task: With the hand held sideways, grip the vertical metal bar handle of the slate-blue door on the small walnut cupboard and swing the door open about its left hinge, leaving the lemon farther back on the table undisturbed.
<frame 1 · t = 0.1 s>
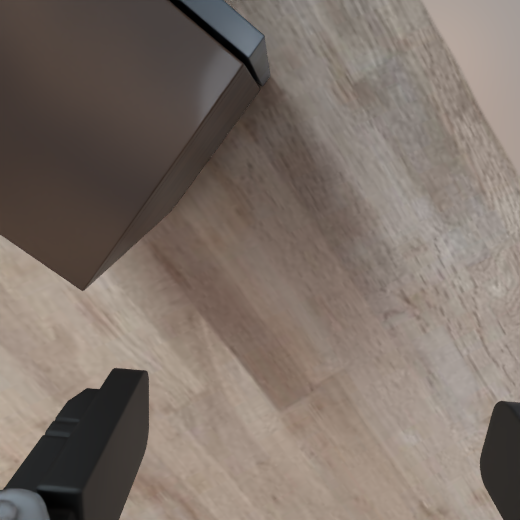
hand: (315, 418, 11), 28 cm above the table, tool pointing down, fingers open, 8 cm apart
cupboard: (129, 86, 35), on the table
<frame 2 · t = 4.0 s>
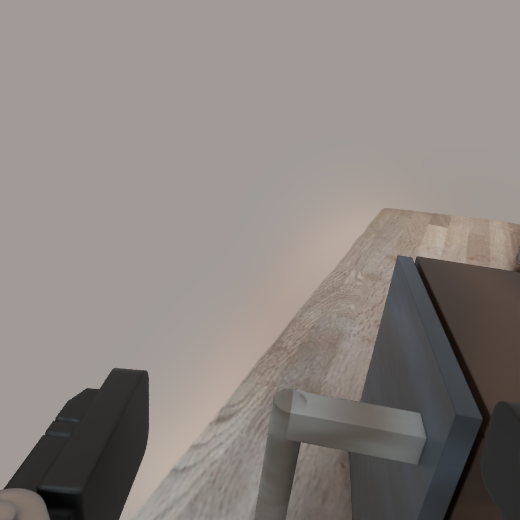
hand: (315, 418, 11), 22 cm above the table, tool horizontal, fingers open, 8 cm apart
door: (334, 427, 28), point 9 cm above the table, hinge at 0.0°
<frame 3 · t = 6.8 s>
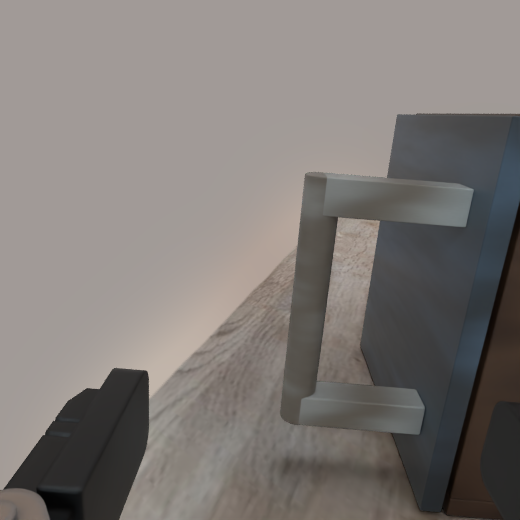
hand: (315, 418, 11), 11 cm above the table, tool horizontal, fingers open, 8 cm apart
cupboard: (495, 417, 29), on the table
door: (355, 271, 26), point 9 cm above the table, hinge at 0.0°
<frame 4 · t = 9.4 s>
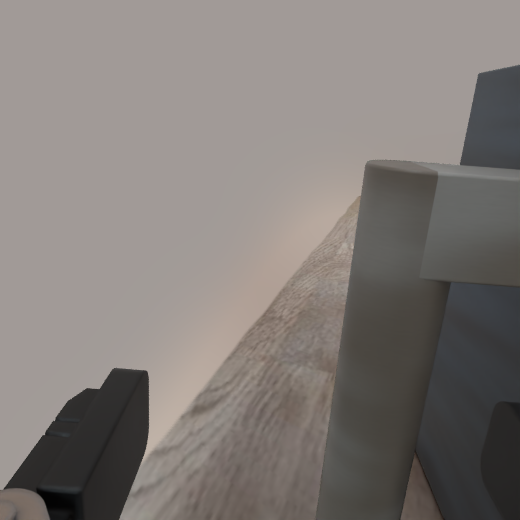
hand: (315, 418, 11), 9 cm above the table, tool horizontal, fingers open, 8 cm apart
door: (431, 350, 14), point 9 cm above the table, hinge at 0.0°, touching gripper
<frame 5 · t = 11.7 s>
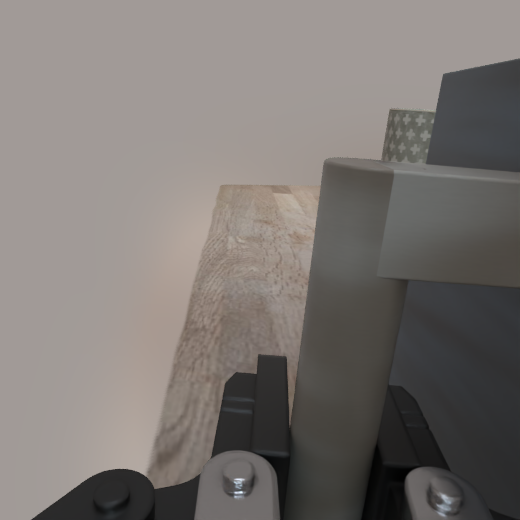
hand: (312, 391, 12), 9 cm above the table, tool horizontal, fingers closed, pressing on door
planter: (428, 226, 78), on the table
door: (396, 347, 14), point 9 cm above the table, hinge at 17.6°, touching gripper
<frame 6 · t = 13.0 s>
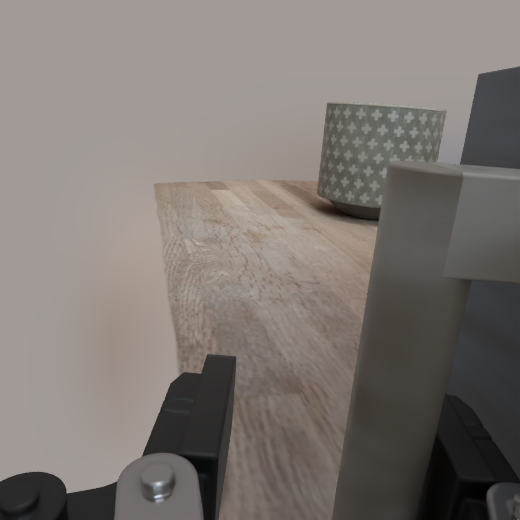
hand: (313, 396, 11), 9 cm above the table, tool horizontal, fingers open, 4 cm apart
planter: (368, 215, 80), on the table
door: (437, 348, 14), point 9 cm above the table, hinge at 30.9°
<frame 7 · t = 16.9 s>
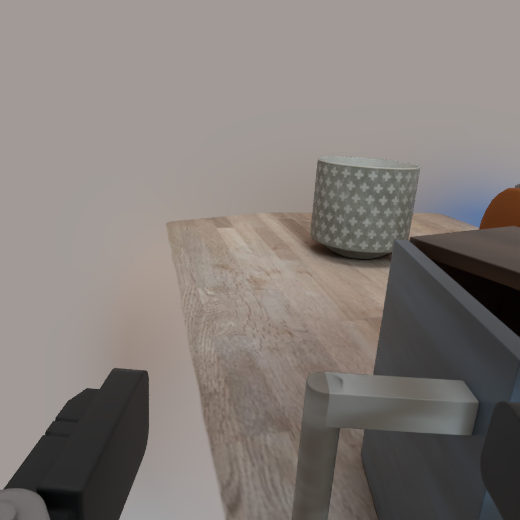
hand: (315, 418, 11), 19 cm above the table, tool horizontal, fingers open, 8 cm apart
cupboard: (512, 498, 33), on the table
planter: (355, 254, 92), on the table
door: (357, 423, 26), point 9 cm above the table, hinge at 30.9°
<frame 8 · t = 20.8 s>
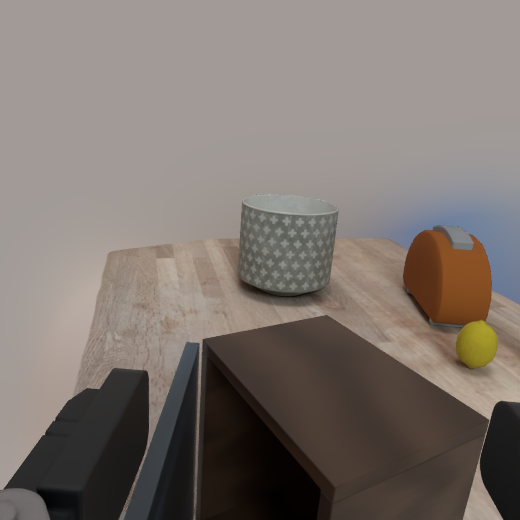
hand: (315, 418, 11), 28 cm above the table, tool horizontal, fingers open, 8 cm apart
lemon: (470, 369, 69), on the table
orange toaster: (436, 309, 91), on the table
planter: (282, 289, 95), on the table
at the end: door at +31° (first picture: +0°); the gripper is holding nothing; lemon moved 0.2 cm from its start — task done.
